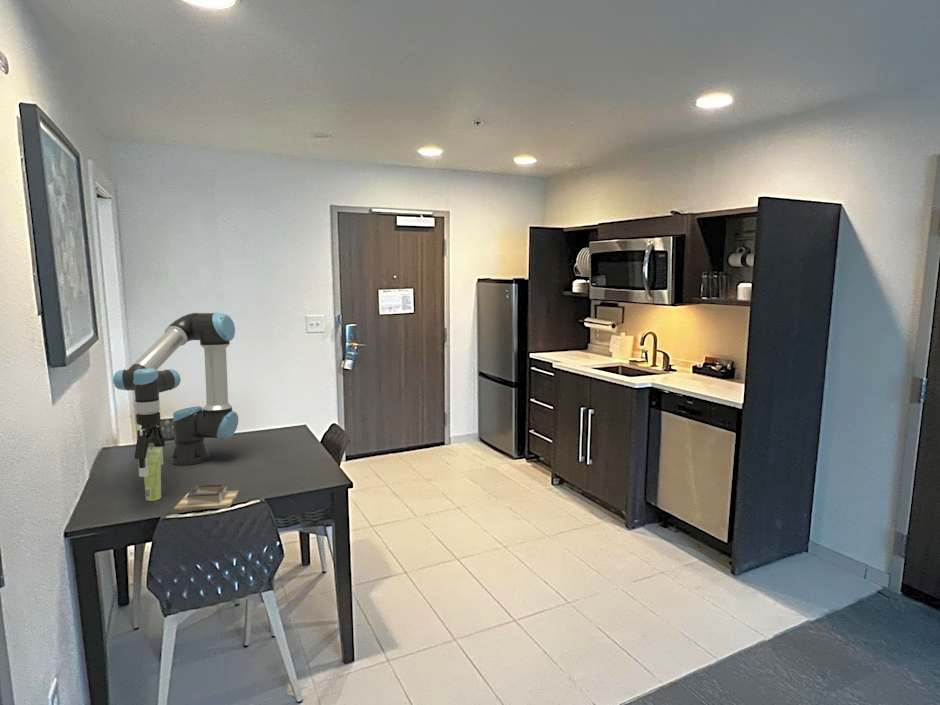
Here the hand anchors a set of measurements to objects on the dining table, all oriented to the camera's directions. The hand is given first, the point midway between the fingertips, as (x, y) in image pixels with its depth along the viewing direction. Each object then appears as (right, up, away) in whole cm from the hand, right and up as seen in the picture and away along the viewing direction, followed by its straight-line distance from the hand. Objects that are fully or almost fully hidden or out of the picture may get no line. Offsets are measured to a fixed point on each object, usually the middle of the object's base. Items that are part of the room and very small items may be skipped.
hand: (151, 470), depth 209 cm
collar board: (+21, -11, 0) cm, 23 cm away
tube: (0, -11, +2) cm, 11 cm away
